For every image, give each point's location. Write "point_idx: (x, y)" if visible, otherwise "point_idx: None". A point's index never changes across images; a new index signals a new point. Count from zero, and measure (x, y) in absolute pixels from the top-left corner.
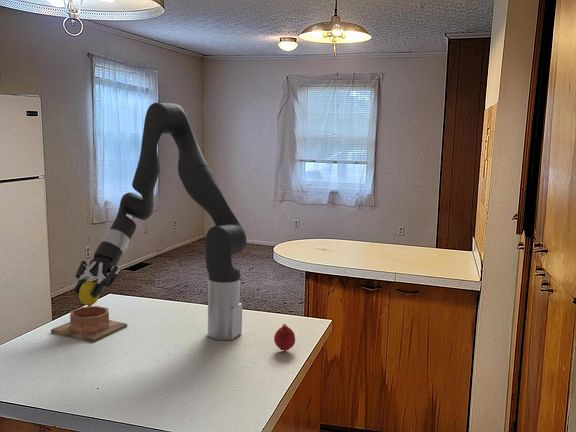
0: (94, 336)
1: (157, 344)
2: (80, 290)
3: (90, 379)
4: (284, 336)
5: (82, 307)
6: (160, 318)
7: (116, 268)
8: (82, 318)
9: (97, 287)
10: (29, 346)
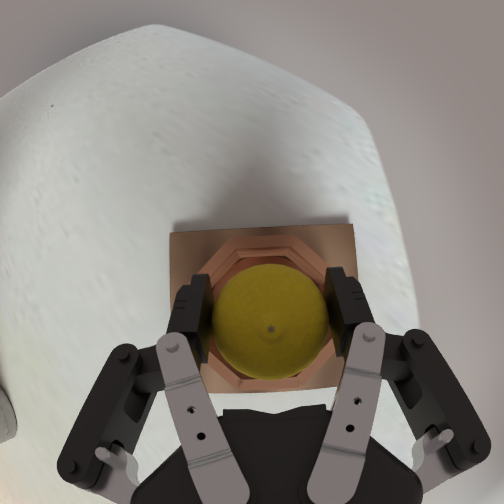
0: (182, 249)
1: (40, 309)
2: (289, 268)
3: (72, 111)
4: None
5: None
6: None
7: (59, 456)
8: (229, 239)
9: (181, 318)
10: (308, 131)
